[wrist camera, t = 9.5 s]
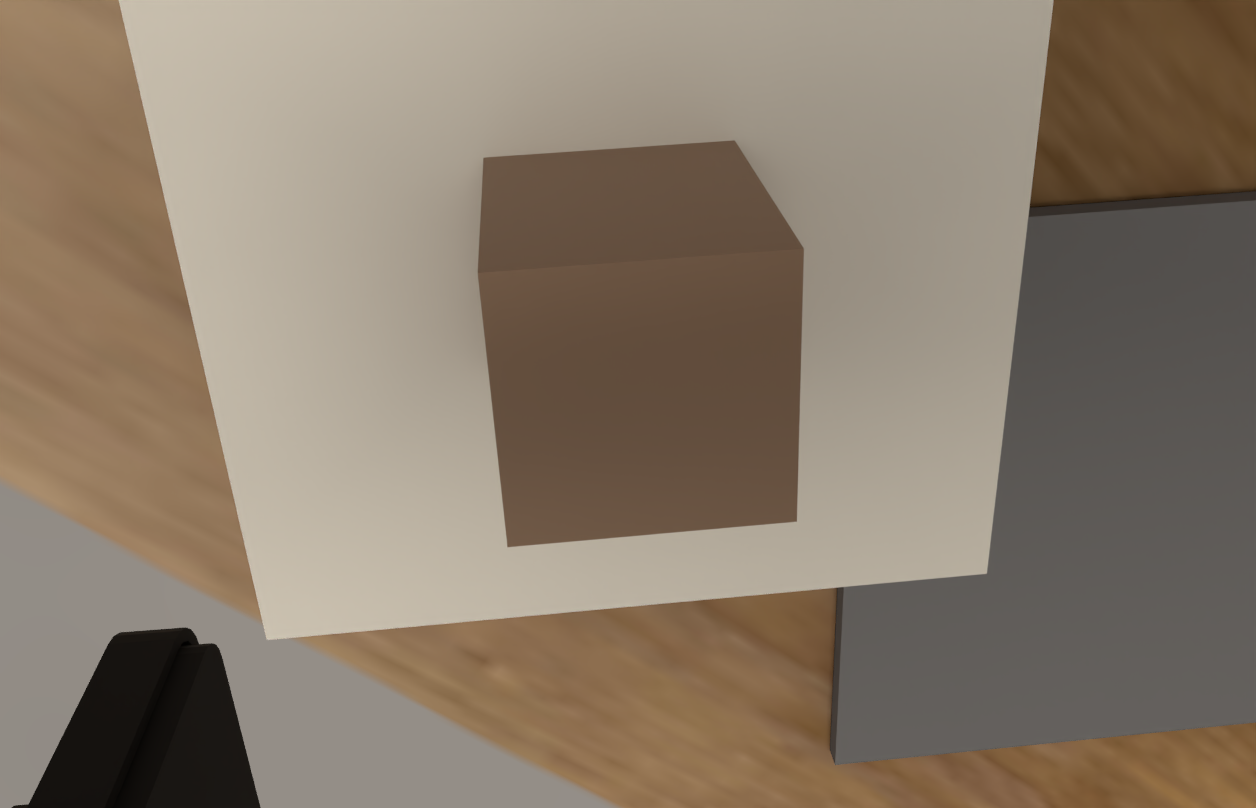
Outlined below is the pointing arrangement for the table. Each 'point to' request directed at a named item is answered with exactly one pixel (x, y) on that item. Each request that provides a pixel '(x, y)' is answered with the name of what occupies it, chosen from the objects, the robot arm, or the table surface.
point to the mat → (1091, 508)
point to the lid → (597, 290)
